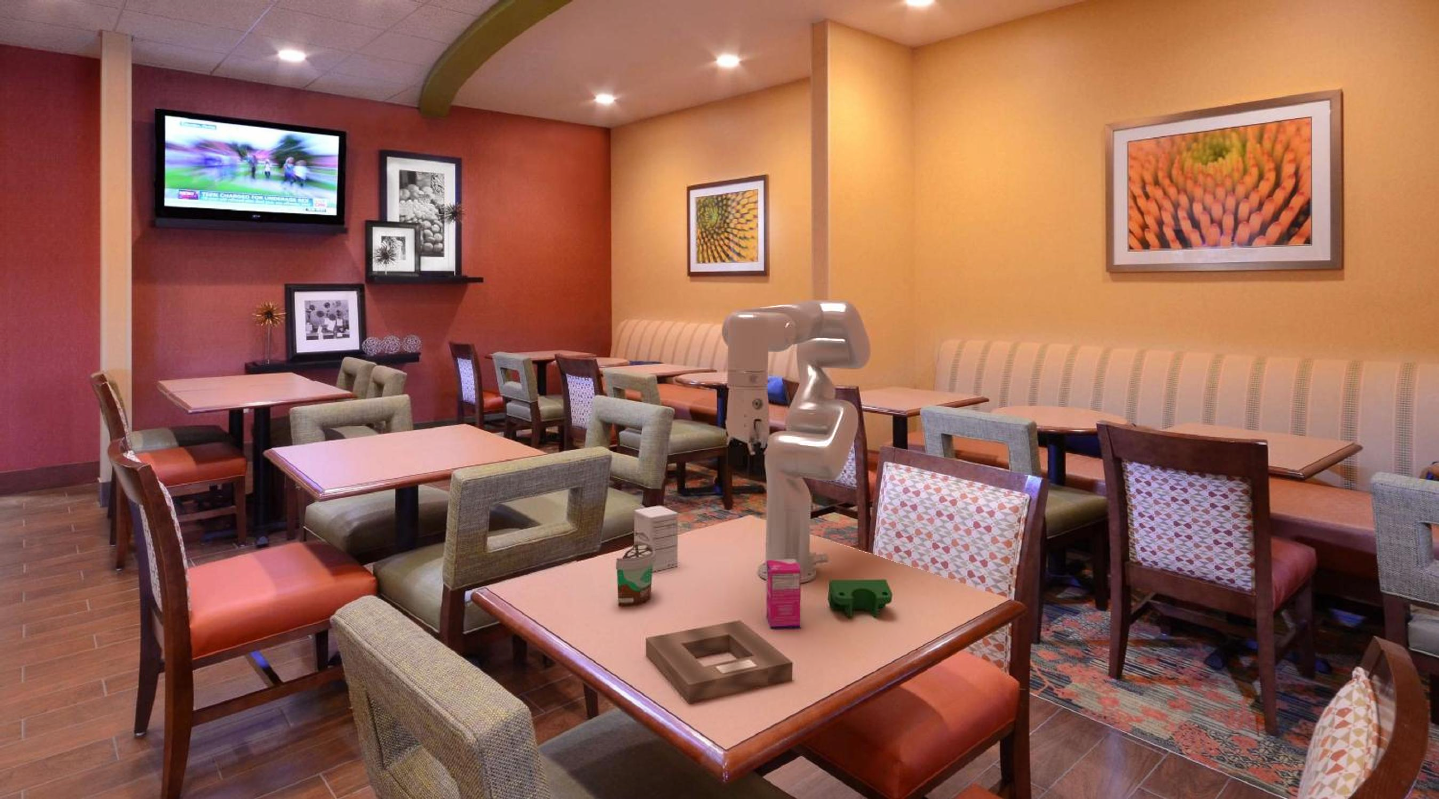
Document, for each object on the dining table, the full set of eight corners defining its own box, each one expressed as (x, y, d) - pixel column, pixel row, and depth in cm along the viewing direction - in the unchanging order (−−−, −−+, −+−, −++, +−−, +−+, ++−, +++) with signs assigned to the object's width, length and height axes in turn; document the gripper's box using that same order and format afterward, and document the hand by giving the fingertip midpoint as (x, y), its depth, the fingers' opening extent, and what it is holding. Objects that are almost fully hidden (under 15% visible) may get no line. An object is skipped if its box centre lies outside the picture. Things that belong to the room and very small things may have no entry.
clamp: (841, 637, 155) (827, 601, 152) (835, 618, 161) (821, 583, 158) (900, 616, 155) (887, 579, 151) (892, 597, 160) (879, 561, 157)
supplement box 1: (633, 563, 182) (633, 509, 181) (661, 557, 187) (661, 504, 185) (650, 573, 176) (650, 517, 175) (678, 566, 181) (679, 511, 179)
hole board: (740, 636, 145) (740, 619, 145) (792, 679, 129) (792, 660, 129) (645, 654, 137) (645, 636, 137) (688, 703, 121) (689, 683, 121)
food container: (646, 611, 155) (646, 561, 154) (615, 608, 157) (615, 559, 155) (663, 588, 167) (663, 542, 166) (634, 586, 169) (634, 539, 167)
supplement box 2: (764, 616, 154) (766, 558, 152) (795, 616, 154) (797, 558, 153) (769, 629, 148) (770, 569, 147) (801, 629, 149) (802, 568, 147)
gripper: (786, 384, 144) (783, 478, 146) (746, 375, 160) (744, 460, 162) (748, 385, 141) (745, 481, 143) (711, 376, 157) (709, 462, 159)
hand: (744, 470), depth 153 cm, fingers open, 9 cm apart
